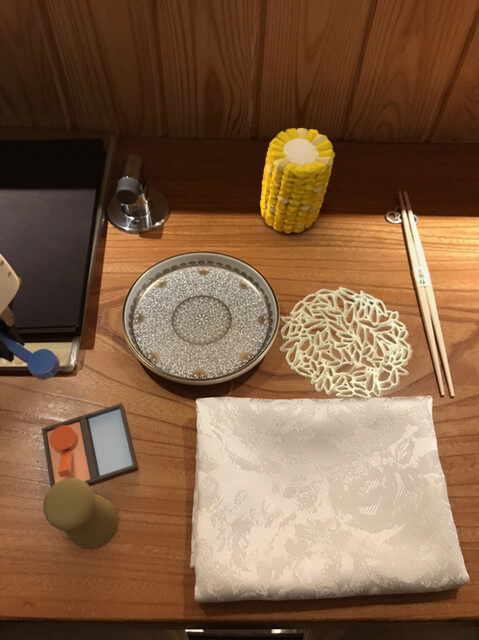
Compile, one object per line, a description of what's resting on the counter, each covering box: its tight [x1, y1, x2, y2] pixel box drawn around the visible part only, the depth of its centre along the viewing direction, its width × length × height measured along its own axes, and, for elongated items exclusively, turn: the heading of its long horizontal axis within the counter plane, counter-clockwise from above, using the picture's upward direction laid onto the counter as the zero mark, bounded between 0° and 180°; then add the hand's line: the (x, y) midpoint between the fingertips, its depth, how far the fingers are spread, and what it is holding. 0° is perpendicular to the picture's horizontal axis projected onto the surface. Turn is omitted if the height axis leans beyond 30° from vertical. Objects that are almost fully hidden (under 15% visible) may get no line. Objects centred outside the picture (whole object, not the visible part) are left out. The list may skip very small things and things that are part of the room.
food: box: [259, 127, 336, 235], centre depth 83 cm, size 15×12×10 cm
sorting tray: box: [41, 402, 139, 488], centre depth 70 cm, size 10×9×1 cm
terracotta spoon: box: [50, 425, 78, 477], centre depth 68 cm, size 7×3×4 cm, turn 18°
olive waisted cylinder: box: [42, 478, 120, 550], centre depth 61 cm, size 6×6×11 cm
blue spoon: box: [0, 332, 61, 381], centre depth 62 cm, size 7×3×4 cm, turn 65°
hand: (7, 348), depth 64 cm, fingers closed on blue spoon, 1 cm apart
